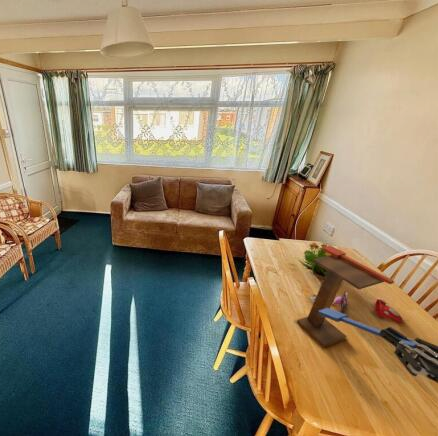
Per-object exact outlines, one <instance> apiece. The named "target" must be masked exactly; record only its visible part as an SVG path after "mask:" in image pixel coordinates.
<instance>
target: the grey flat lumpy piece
mask: <svg viewBox="0 0 438 436" xmlns="http://www.w3.org/2000/svg"><path fill="white" fill-rule="evenodd" d="M316 296H317V294H312V295H309V298H310V300H311V302H312V303H313V304H314V301H315V299H316Z"/></svg>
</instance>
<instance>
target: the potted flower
mask: <svg viewBox="0 0 438 436" xmlns="http://www.w3.org/2000/svg"><path fill="white" fill-rule="evenodd" d="M326 246H328V244H324V243H322V244H320V245H319V244H317V242H312V243H309V249H310V250H308V249H307V250H305V251H303V254H304V259H305V261H301V260H300V259H298V261H299V262H300V263H301V265H302V266H303V267H305V269H306V270H310V271H312V273H313V275H315V276H316V277H318V278H319V279H322V280H323V279H324V277H325V275H326V272H327V270H326V269H324V268H323V267H321V266H319V265H318V264H316V263H314V262H313V259H317V258H321V257H326V256H330V255H331V254H329V253H327V252H325V251H323V250H322V248H323V247H326ZM337 249H338V250H340V251H342V250H341V249H339V248H337Z"/></svg>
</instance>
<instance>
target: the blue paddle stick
mask: <svg viewBox="0 0 438 436" xmlns="http://www.w3.org/2000/svg"><path fill="white" fill-rule="evenodd" d="M318 314H319V315H321V316H324V317H326V318H325V319H328V320H331V321H334V322H336V323H339V322H342V323H344V324H347V325H350V326H352V327H354V328H357V329H360V330H362V331H364V332H368V333H369V334H373V335H375V336H378V337H380V338H382V337H381V336H380V335H379V333H380V331H381V330H382V329H381V330H380V329H378V328H376V327H373V326H370V325H367V324H365V323H361V322H359V321H356V320H354V319H351V318H348V314H346V313H344V312H343V313H342V312H340V311H338V310H334V309H332V308H330V309H329V308H326V309H323V310H319V311H318ZM398 338H399V337H398ZM399 339H401V341H403V342H405V343H406V344H408V345H409V346H411V347H413V348H417V344H415V343H413V342H410V341H407V340H404V339H402V338H399Z"/></svg>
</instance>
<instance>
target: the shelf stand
mask: <svg viewBox="0 0 438 436" xmlns="http://www.w3.org/2000/svg"><path fill="white" fill-rule="evenodd" d="M313 262H314V263H316V264H318V265H319V266H321V267H323V268H324V269H326V270H327V272H326V275H325V277H324V279H322V282H321V285H320V287H319V290H318V292H317V293H316V295H317V296H316V299H315V301H314V303H313V304H312V305H311V307H310V308H311V309H310V312H308V316H306V317H303V318H299V319H297V320H296V323H297V324H298V325H299V326H300V327H301V328H302V329H303V330H304V331H305V332H307V333H308V335H309V336H310V337H312V338H313V339H314V340H315V341H316V342H317V343H318V344H319V345H320V346H321V347H323V348H324V347H325V348H326V347H327V346H330V345H333V344H335V343H338V342H341V341H343V340H346V339H347V337H348V336H347V335H346V334H345V333H343V332H342V331H341V330H339V328H337V327H336V326H335V325H333V324H332V322H330V321H329V320H328V319H327V318H326V317H324V316H321V315H319V314H318V311H319V310H323V309H326V308H329V309H331V307H332V305H333V304H332V303H334V300H335V299H336V298H337V295H338V292H339V291H340V288H341V285H342V284H343V282H346V283H347V284H349V285H350V286H351V287H353V288H355V289H357V290H362V289H365V288H366V289H367V288H369V287H372V286H375V285H379V284H382V283H385V282H384V281H383V280H381V279H379V278H377V277H375V276H373V275H371V274H370V273H368V272H366V271H364V270H362V269H360V268H358V267H357V266H355V265H353V264H351V263H349V262H347V261H345V260H343V259H342V258H340V257H338V258H336V257H334V256H332V255H330V256H326V257H321V258H317V259H313Z"/></svg>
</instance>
